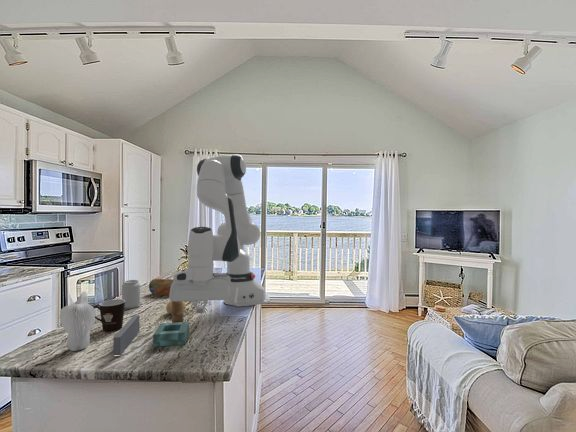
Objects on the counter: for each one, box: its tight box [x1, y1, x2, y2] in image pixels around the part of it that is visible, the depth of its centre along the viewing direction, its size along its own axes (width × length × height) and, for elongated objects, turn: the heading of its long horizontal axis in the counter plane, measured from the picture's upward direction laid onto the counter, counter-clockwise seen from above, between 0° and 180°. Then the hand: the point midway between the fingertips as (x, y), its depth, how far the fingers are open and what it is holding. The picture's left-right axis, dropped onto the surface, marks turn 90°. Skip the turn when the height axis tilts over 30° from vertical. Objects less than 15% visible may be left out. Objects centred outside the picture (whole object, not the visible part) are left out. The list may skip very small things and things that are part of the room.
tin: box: [148, 278, 174, 297], centre depth 164 cm, size 15×3×8 cm, turn 77°
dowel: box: [171, 301, 184, 323], centre depth 120 cm, size 4×4×10 cm
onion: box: [165, 300, 187, 315], centre depth 135 cm, size 8×8×7 cm
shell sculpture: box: [59, 290, 97, 352], centre depth 101 cm, size 8×8×18 cm
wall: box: [112, 314, 140, 356], centre depth 105 cm, size 2×20×6 cm, turn 10°
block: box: [152, 321, 190, 347], centre depth 108 cm, size 10×10×4 cm
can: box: [121, 279, 141, 310], centre depth 143 cm, size 8×8×12 cm
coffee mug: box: [93, 298, 125, 333], centre depth 118 cm, size 12×9×10 cm
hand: (199, 312), depth 109 cm, fingers closed
